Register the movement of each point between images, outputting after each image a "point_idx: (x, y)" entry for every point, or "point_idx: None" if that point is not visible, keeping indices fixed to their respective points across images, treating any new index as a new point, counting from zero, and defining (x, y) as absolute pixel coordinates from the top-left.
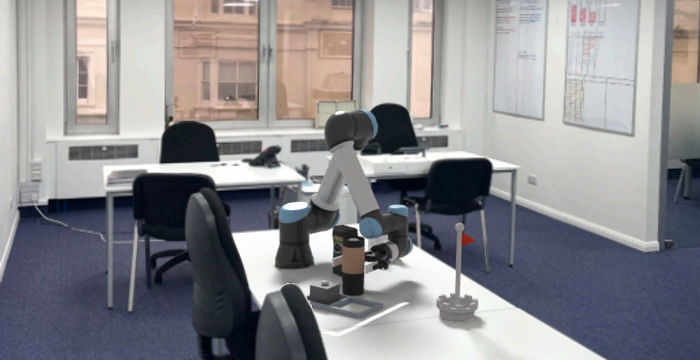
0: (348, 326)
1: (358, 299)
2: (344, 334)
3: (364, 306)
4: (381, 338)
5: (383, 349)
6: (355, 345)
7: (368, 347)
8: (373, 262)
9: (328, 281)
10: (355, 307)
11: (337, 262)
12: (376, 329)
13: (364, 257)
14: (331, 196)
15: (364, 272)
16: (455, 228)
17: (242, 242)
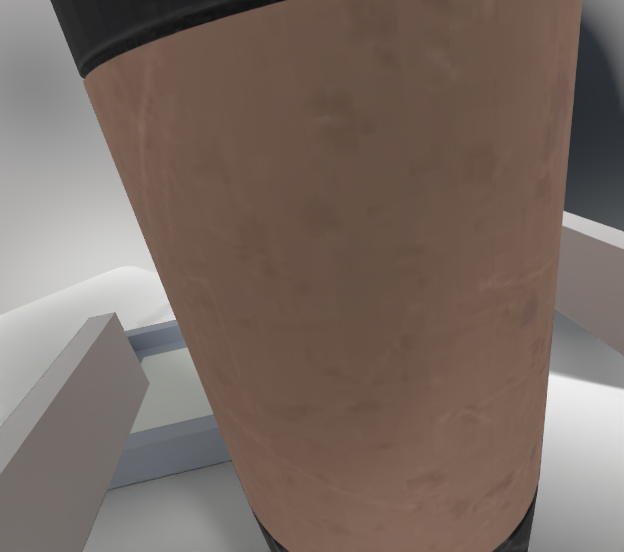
0: (152, 323)
1: (202, 419)
2: (141, 300)
3: (152, 423)
4: (29, 339)
5: (19, 317)
6: (93, 293)
7: (59, 304)
8: (13, 441)
9: None
10: (189, 388)
11: (585, 294)
12: (54, 360)
13: (180, 329)
14: None
15: (258, 522)
16: None
17: None
